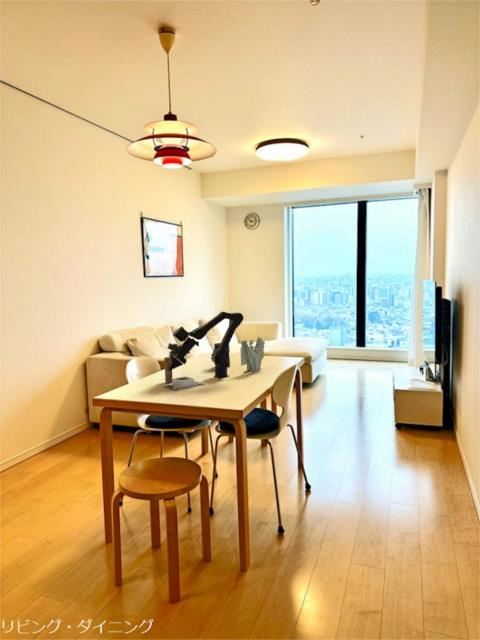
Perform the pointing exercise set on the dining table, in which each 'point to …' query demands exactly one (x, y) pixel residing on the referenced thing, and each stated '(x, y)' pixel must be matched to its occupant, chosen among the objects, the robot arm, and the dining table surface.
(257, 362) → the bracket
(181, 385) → the grey stand base
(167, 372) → the rail post
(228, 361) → the storage jar
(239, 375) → the dining table surface
